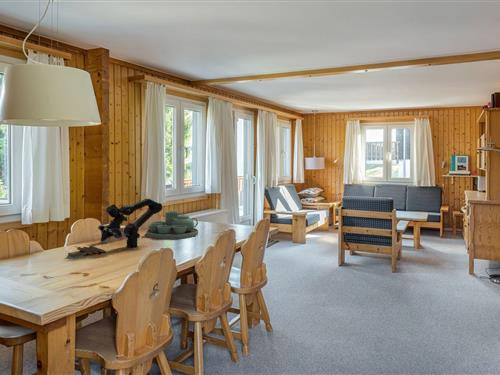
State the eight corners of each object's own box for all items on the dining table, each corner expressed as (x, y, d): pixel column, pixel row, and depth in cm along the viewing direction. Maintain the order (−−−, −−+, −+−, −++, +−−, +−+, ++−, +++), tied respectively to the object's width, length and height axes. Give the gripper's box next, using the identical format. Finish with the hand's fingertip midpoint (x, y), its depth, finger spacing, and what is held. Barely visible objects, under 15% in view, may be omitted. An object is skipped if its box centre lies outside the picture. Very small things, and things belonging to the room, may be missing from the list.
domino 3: (94, 250, 269) (83, 246, 263) (99, 251, 266) (88, 247, 260) (93, 252, 269) (82, 248, 263) (98, 253, 266) (87, 250, 260)
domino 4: (99, 249, 272) (89, 245, 266) (104, 250, 269) (94, 246, 263) (99, 251, 272) (88, 248, 266) (103, 252, 269) (93, 249, 263)
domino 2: (88, 251, 266) (78, 246, 260) (93, 252, 263) (82, 247, 257) (87, 253, 265) (76, 249, 259) (92, 255, 262) (81, 250, 256)
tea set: (136, 234, 338) (136, 213, 337) (179, 229, 365) (179, 209, 364) (164, 241, 309) (164, 218, 308) (208, 235, 337) (208, 214, 336)
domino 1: (80, 250, 261) (68, 252, 255) (85, 252, 258) (72, 254, 252) (80, 253, 262) (68, 255, 255) (85, 254, 258) (72, 256, 252)
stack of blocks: (122, 237, 320) (122, 221, 319) (129, 238, 317) (129, 222, 317) (101, 242, 301) (101, 225, 300) (107, 243, 298) (107, 225, 297)
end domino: (79, 253, 261) (66, 255, 255) (83, 254, 258) (71, 256, 252) (79, 256, 261) (66, 258, 255) (83, 257, 258) (71, 259, 252)
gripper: (132, 231, 277) (117, 251, 269) (115, 228, 288) (101, 247, 280) (122, 220, 270) (106, 240, 262) (105, 217, 282) (90, 236, 274)
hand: (101, 241), depth 270 cm, fingers closed
